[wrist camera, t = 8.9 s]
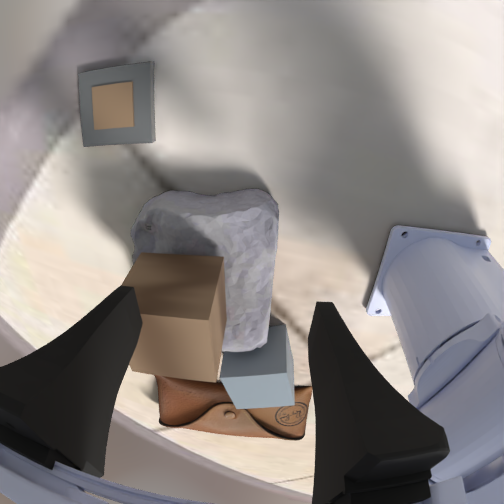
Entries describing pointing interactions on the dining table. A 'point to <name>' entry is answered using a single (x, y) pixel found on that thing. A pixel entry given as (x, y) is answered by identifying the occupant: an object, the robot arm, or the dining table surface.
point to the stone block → (221, 250)
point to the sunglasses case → (228, 411)
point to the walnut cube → (179, 315)
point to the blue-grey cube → (261, 373)
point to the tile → (117, 105)
